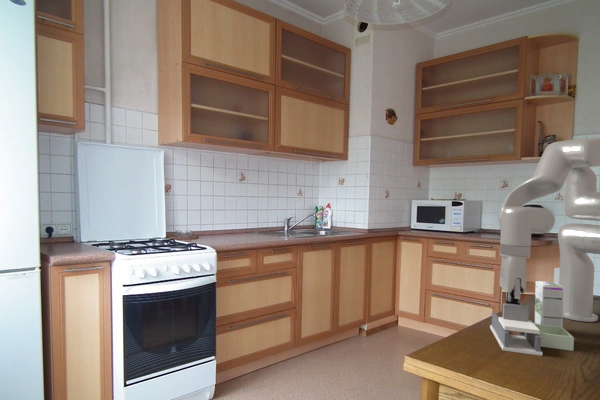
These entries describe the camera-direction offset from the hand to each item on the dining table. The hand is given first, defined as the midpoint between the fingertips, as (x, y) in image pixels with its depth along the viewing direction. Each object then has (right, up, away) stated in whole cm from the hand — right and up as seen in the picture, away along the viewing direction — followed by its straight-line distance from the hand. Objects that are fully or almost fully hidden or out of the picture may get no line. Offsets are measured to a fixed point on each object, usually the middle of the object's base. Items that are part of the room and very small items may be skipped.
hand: (512, 315), depth 108 cm
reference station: (-1, -6, -3) cm, 7 cm away
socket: (+8, -7, -3) cm, 11 cm away
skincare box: (+46, -7, +46) cm, 66 cm away
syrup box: (+14, -7, +6) cm, 17 cm away
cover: (-2, -1, -6) cm, 7 cm away
